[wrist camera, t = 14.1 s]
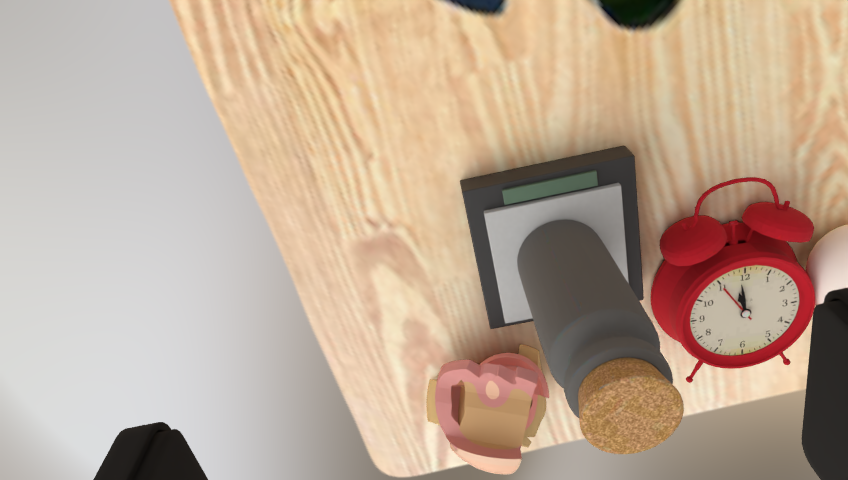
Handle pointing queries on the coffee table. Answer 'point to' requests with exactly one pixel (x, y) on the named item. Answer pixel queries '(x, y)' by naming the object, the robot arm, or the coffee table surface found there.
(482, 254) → the scale
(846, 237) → the egg
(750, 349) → the alarm clock
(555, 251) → the bottle
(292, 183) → the coffee table surface
